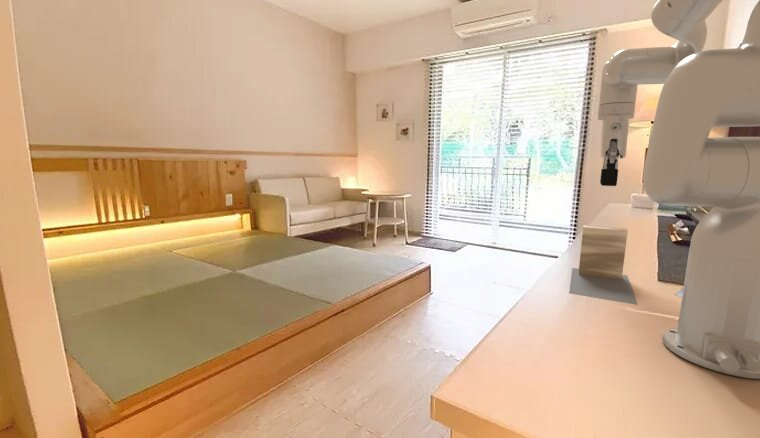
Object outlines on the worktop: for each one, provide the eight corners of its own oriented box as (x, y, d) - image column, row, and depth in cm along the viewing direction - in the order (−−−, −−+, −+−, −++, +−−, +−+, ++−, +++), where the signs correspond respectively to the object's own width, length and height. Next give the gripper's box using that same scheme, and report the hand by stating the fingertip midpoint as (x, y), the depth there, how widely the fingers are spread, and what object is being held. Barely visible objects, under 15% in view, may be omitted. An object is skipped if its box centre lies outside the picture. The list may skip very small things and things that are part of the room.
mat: (637, 306, 69) (637, 304, 69) (568, 295, 75) (569, 292, 75) (626, 277, 87) (627, 275, 87) (572, 269, 93) (572, 267, 93)
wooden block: (621, 279, 84) (627, 230, 82) (578, 273, 88) (583, 226, 86) (620, 276, 86) (626, 228, 84) (578, 270, 91) (583, 225, 89)
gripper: (639, 106, 77) (629, 187, 80) (630, 115, 92) (622, 183, 95) (599, 109, 81) (591, 186, 84) (597, 117, 96) (590, 182, 99)
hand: (607, 184), depth 90 cm, fingers open, 6 cm apart
